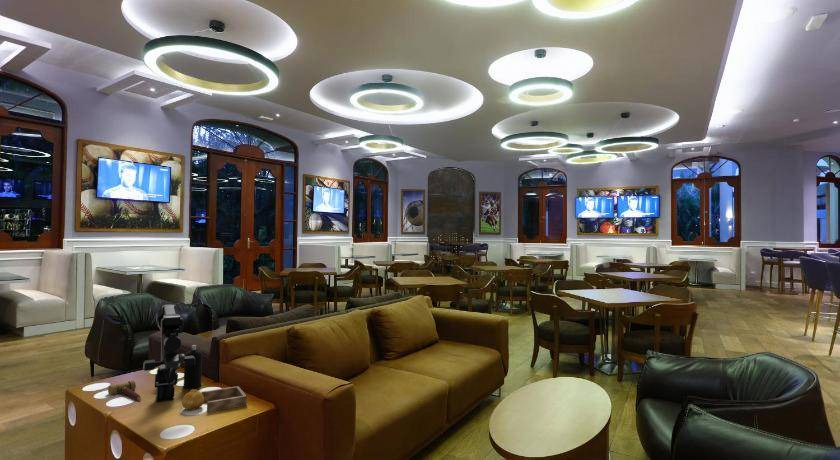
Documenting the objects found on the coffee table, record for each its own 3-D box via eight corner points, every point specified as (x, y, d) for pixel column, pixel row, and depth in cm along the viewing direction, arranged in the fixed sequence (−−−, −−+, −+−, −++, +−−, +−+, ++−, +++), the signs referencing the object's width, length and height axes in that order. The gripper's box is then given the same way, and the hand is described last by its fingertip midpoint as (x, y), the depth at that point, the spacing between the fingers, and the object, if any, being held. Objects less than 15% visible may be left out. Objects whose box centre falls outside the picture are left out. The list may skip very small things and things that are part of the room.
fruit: (190, 397, 198) (187, 385, 194) (208, 400, 198) (205, 387, 194) (180, 413, 191) (177, 400, 187) (199, 415, 191) (196, 403, 187)
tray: (207, 412, 188) (207, 402, 188) (201, 400, 201) (201, 391, 201) (246, 405, 197) (246, 396, 198) (238, 394, 210) (238, 386, 210)
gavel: (152, 391, 202) (128, 397, 194) (152, 401, 202) (127, 408, 194) (132, 379, 214) (108, 384, 206) (131, 388, 214) (107, 394, 206)
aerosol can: (205, 386, 220) (206, 345, 221) (188, 390, 213) (190, 348, 214) (195, 382, 225) (197, 342, 225) (179, 387, 218) (181, 345, 218)
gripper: (145, 352, 175) (144, 393, 175) (198, 347, 186) (196, 385, 186) (144, 346, 185) (142, 384, 184) (194, 342, 195) (192, 378, 195)
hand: (168, 383), depth 187 cm, fingers closed
